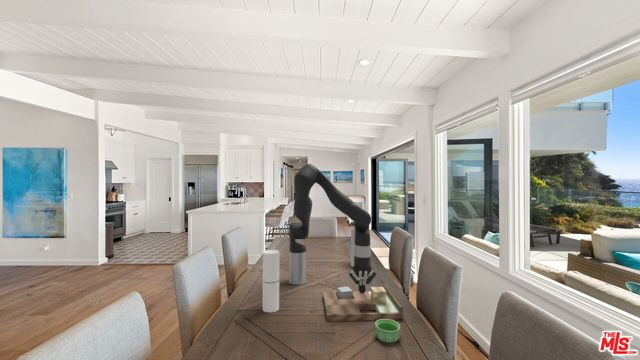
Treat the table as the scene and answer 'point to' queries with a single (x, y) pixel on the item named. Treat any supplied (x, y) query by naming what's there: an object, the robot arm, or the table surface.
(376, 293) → the maple cube
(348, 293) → the trapped grey cube
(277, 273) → the cylindrical container
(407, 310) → the table surface
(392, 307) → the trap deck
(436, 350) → the table surface
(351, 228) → the cylinder vase
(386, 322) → the ramekin
